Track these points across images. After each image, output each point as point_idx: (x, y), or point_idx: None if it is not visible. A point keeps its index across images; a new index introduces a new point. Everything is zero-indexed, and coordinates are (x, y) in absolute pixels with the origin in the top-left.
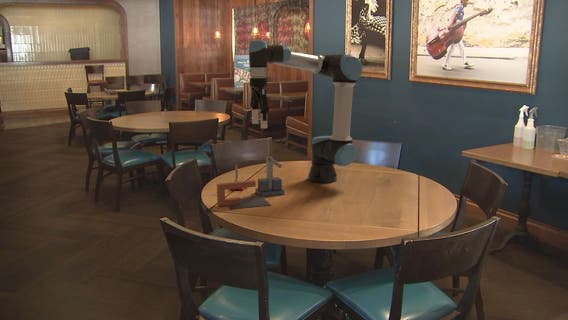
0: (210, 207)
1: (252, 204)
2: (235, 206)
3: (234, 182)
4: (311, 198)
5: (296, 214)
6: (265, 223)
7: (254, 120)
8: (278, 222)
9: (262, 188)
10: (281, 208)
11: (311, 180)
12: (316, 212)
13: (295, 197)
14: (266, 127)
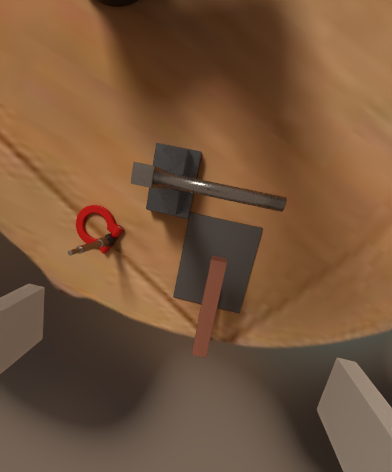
0: None
1: (237, 262)
2: (229, 298)
3: (205, 314)
4: (271, 105)
5: (356, 210)
6: (361, 296)
7: (10, 345)
8: (374, 272)
9: (180, 208)
10: (296, 218)
11: (124, 3)
12: (376, 160)
13: (239, 140)
14: (356, 376)
